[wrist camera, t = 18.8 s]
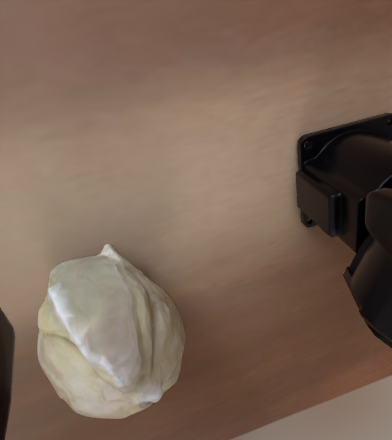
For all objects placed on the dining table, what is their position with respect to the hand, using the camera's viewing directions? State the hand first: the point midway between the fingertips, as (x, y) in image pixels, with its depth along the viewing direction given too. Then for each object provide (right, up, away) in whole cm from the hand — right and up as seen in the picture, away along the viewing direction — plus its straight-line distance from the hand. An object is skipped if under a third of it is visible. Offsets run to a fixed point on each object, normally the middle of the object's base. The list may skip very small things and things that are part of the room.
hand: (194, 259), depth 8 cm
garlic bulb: (-6, -4, +16) cm, 17 cm away
